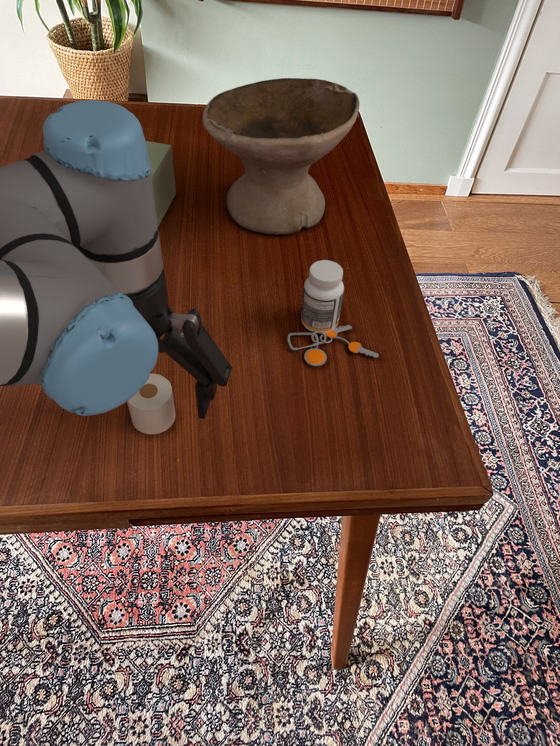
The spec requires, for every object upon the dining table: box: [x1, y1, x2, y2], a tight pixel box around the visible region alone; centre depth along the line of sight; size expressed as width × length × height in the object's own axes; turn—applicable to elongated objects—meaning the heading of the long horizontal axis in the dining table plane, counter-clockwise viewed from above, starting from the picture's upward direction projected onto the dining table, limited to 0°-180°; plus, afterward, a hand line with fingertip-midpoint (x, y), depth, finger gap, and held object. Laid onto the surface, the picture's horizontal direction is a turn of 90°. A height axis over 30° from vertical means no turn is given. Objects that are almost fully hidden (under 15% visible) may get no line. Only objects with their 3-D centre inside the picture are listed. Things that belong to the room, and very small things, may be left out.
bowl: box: [202, 77, 361, 236], centre depth 97 cm, size 26×25×20 cm
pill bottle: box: [300, 259, 345, 333], centre depth 83 cm, size 6×6×10 cm
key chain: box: [287, 324, 380, 367], centre depth 84 cm, size 13×7×1 cm, turn 99°
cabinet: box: [145, 140, 177, 227], centre depth 97 cm, size 19×14×10 cm
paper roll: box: [126, 373, 177, 435], centre depth 73 cm, size 6×6×6 cm
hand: (152, 399), depth 72 cm, fingers open, 13 cm apart
